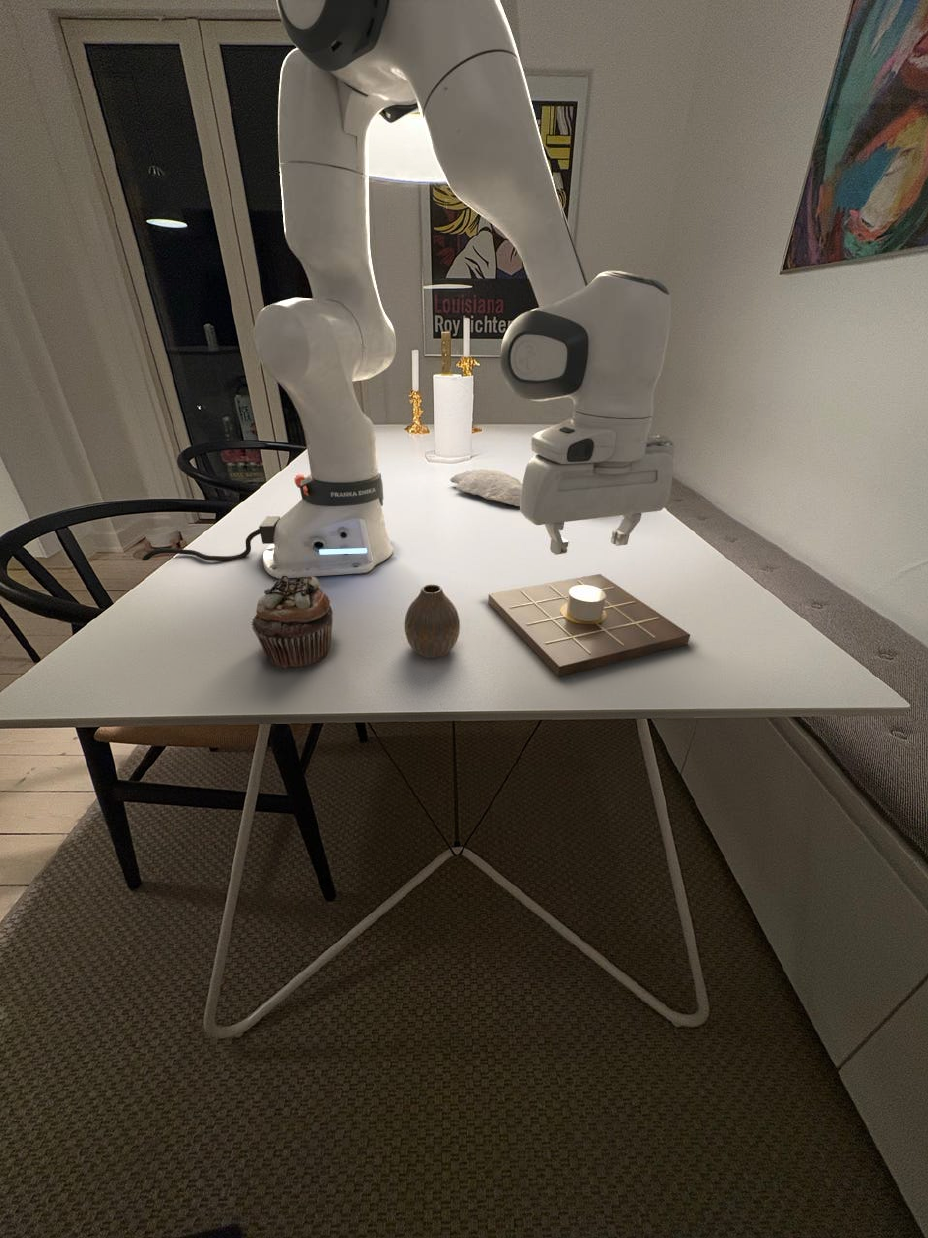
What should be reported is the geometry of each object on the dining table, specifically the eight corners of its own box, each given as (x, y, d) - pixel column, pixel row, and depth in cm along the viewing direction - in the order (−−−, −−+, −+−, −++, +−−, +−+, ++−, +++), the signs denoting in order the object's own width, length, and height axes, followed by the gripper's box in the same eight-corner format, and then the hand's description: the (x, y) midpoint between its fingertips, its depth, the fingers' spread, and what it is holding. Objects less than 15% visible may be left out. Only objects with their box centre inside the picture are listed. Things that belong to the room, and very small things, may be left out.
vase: (416, 670, 62) (413, 606, 57) (399, 641, 67) (395, 581, 63) (468, 657, 64) (469, 596, 60) (447, 631, 70) (447, 572, 65)
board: (558, 677, 61) (559, 666, 60) (488, 602, 77) (488, 593, 76) (687, 644, 68) (690, 633, 67) (598, 582, 83) (600, 573, 83)
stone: (438, 489, 130) (504, 514, 113) (437, 467, 127) (505, 490, 110) (484, 477, 138) (553, 499, 122) (485, 456, 136) (555, 476, 119)
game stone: (579, 623, 69) (582, 604, 67) (559, 607, 72) (561, 588, 71) (609, 617, 70) (613, 598, 69) (589, 601, 74) (591, 582, 73)
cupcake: (337, 627, 70) (328, 560, 65) (336, 668, 62) (326, 594, 57) (264, 634, 68) (249, 565, 63) (253, 676, 60) (235, 602, 55)
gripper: (659, 429, 66) (637, 531, 73) (519, 436, 59) (509, 548, 66) (696, 439, 61) (668, 547, 68) (547, 448, 54) (533, 568, 61)
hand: (589, 548), depth 67 cm, fingers open, 8 cm apart
